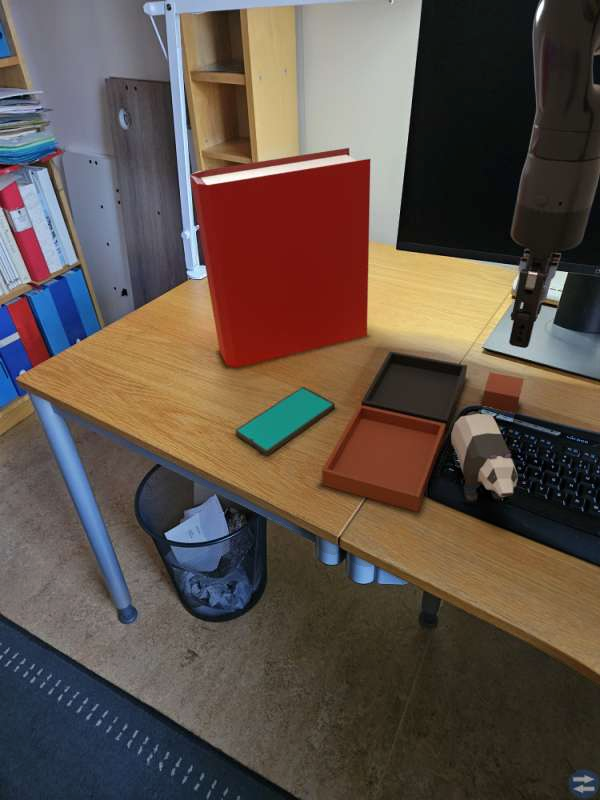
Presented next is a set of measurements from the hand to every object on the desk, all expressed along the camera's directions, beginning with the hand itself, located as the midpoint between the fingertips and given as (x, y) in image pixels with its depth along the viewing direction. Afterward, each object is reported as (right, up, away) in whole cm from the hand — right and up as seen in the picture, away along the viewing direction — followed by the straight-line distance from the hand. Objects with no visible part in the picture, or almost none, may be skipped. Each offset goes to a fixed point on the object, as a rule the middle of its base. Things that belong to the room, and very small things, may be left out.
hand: (524, 328), depth 70 cm
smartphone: (-30, -12, +18) cm, 37 cm away
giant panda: (-4, -20, +5) cm, 21 cm away
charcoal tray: (-9, -8, +21) cm, 24 cm away
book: (-29, +2, +37) cm, 47 cm away
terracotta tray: (-16, -18, +10) cm, 26 cm away
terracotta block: (+3, -11, +17) cm, 20 cm away
